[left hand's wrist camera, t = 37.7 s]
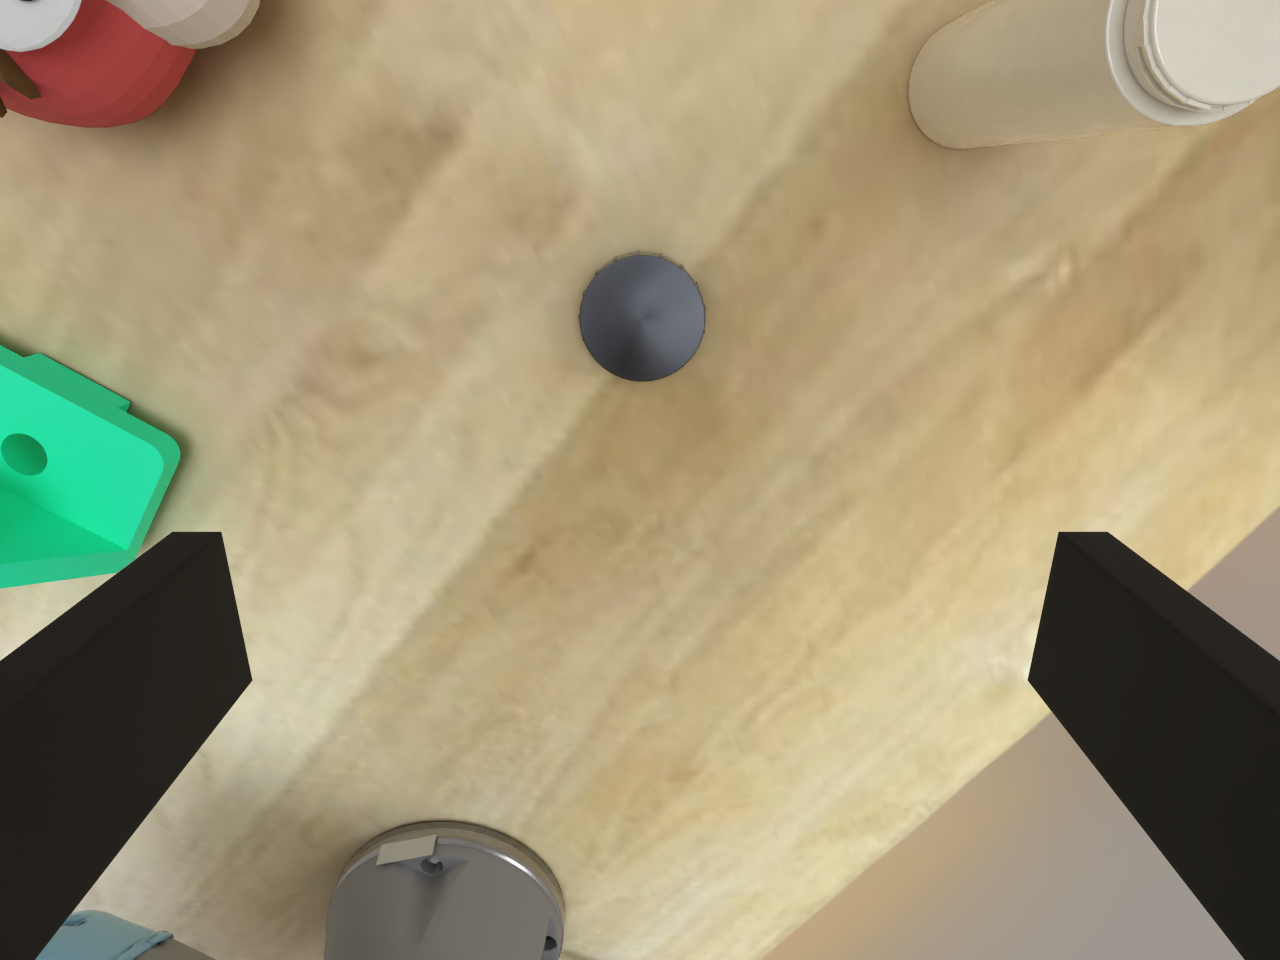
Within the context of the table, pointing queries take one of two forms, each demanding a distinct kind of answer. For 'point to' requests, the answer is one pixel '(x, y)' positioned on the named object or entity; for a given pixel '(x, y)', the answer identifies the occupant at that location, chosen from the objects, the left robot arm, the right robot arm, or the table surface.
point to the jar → (1092, 68)
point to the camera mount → (73, 474)
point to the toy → (105, 54)
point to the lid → (642, 316)
